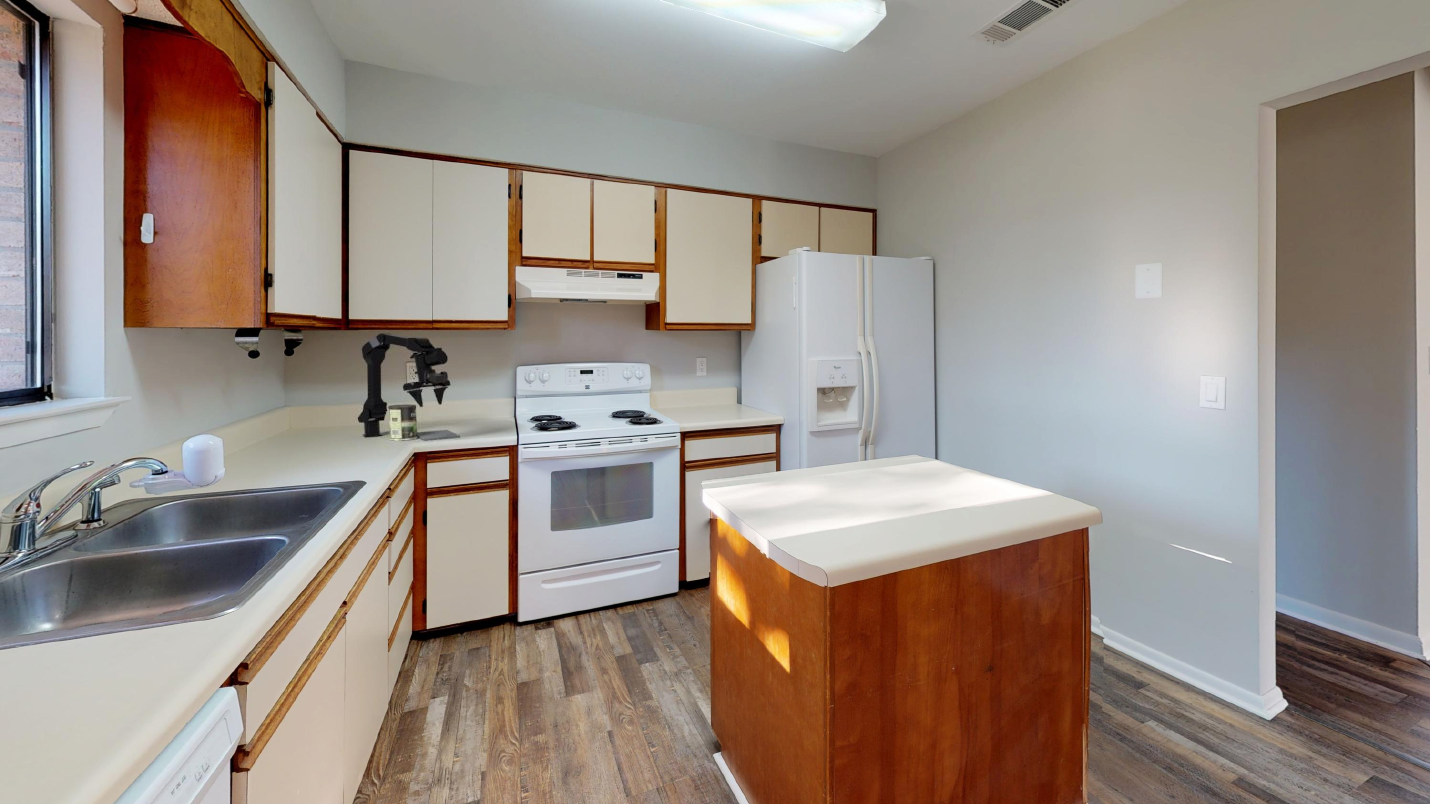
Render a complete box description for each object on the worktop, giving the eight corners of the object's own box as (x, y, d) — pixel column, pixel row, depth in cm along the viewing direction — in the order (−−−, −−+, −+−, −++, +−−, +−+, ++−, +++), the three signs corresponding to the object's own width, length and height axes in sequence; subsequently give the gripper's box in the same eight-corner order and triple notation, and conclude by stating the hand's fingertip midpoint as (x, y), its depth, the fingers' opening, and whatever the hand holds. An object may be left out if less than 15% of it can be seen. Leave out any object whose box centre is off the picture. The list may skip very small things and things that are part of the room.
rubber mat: (412, 434, 246) (412, 432, 246) (447, 431, 255) (447, 429, 255) (423, 440, 231) (423, 438, 231) (459, 437, 240) (459, 435, 240)
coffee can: (419, 436, 242) (418, 403, 240) (415, 440, 232) (413, 406, 231) (392, 437, 239) (391, 404, 237) (386, 441, 229) (385, 407, 227)
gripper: (419, 366, 217) (426, 405, 218) (456, 364, 235) (463, 400, 235) (398, 370, 221) (405, 409, 222) (437, 368, 239) (444, 404, 239)
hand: (431, 405), depth 230 cm, fingers open, 9 cm apart
